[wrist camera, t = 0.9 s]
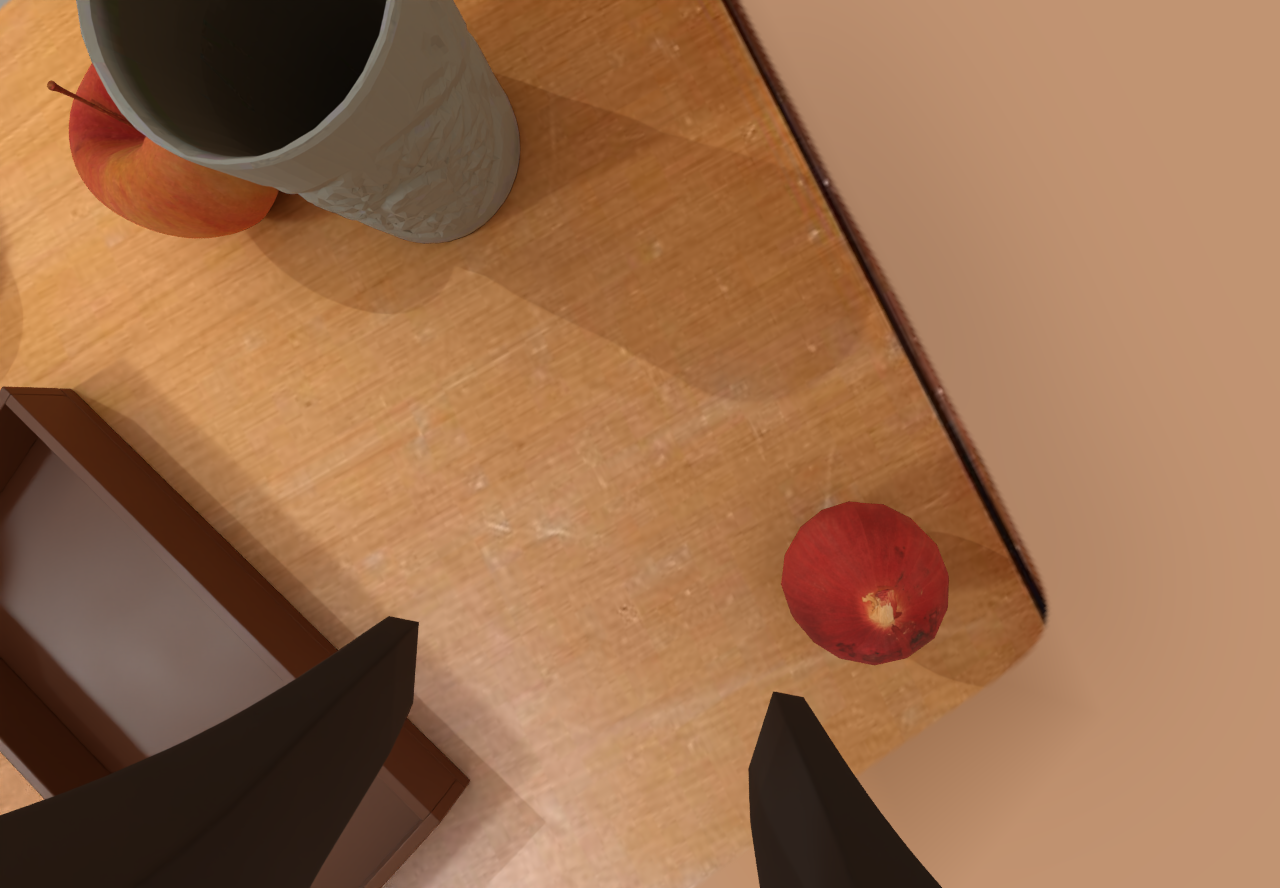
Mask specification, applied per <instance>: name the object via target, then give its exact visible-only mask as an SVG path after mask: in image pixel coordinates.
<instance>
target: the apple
mask: <svg viewBox="0 0 1280 888" xmlns="http://www.w3.org/2000/svg"><path fill="white" fill-rule="evenodd" d="M47 87H48V89H49V90H52V91H57V92H60V93H63V94H65V95H67V96H70V97H72V98H74V100H73V104H72V108H71V112H70V120H69V141H70V149H71V153H72V157H73V160H74V163H75V166H76V168H77V170H78V173H79V175H80V176H81V178H82V180H83V181H84V183H85V184H86V186H87V187H88V189H89V190H90V191H91V192H92V193H93V194H94V196H95V197H96V198H97V199H98V200H100V201H101V202H102V203H103V204H104V205H105V206H107V207H108V208H109V209H111V210H112V211H114V212H115V213H117V214H118V215H120V216H122V217H123V218H125V219H127V220H129V221H131V222H133V223H135V224H137V225H140V226H142V227H145V228H147V229H150V230H153V231H156V232H159V233H163V234H167V235H172V236H177V237H186V238H212V237H220V236H225V235H230V234H234V233H237V232H240V231H243V230H245V229H248V228H250V227H252V226H253V225H255V224H257V223H258V222H260V221H261V220H262V219H263V218H264V217H265V216H266V214H267V213H268V211H269V210H270V208H271V207H272V205H273V204H274V201H275V199H276V197H277V194H278V191H279V190H278V189H276V188H274V187H270V186H262V185H259V184H256V183H253V182H250V181H247V180H244V179H241V178H238V177H235V176H232V175H229V174H226V173H223V172H220V171H217V170H214V169H211V168H208V167H205V166H202V165H199V164H196V163H193V162H191V161H188V160H186V159H184V158H181V157H179V156H177V155H175V154H173V153H172V152H170V151H168V150H166V149H165V148H163V147H161V146H159V145H157V144H156V143H154V142H153V141H152V140H150V139H149V138H148V137H146V136H145V135H144V134H142V133H141V132H140V131H138V130H137V129H136V128H135V127H134V126H133V125H132V124H131V123H130V122H129V121H128V120H127V118H126V117H125V116H124V115H123V114H122V113H121V112H120V110H119V109H118V107H117V106H116V104H115V103H114V101H113V100H112V98H111V97H110V95H109V94H108V92H107V90H106V88H105V86H104V84H103V83H102V81H101V79H100V77H99V75H98V73H97V71H96V69H95V67H94V65H93V63H92V64H91V66H90V67H89V69H88V71H87V73H86V74H85V76H84V78H83V80H82V82H81V84H80V86H79V88H78V90H77V92H76V95H75V94H73V93H71V92H69V91H67V90H65V89H64V88H62V87H60V86H59V85H57V84H56V83H55V82H54V81H49V82H48V84H47Z"/></svg>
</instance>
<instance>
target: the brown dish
mask: <svg viewBox="0 0 1280 888" xmlns="http://www.w3.org/2000/svg"><path fill="white" fill-rule="evenodd" d="M337 651H338V650H337V649H335V648H334V647H333V646H332V645H331V644H330V643H329V642H328V641H327V640H326V639H325V638H324V637H323V636H322V635H321V634H320V633H319V632H318V631H317V630H316V629H315V628H314V627H313V626H312V625H311V624H310V623H309V622H308V621H307V620H306V619H305V618H304V617H303V616H302V615H301V614H300V613H299V612H298V611H297V610H296V609H295V608H294V607H293V606H292V605H291V604H290V603H289V602H288V601H287V600H286V599H285V598H284V597H283V596H282V595H281V594H279V593H278V592H277V591H276V590H275V589H274V588H273V587H272V586H271V585H270V584H269V583H268V582H267V581H266V580H265V579H264V578H263V577H262V576H261V575H260V574H259V573H258V572H257V571H256V570H255V569H254V568H253V567H252V566H251V565H250V564H249V563H248V562H247V561H246V560H245V559H244V558H243V557H242V556H241V555H240V554H239V553H238V552H237V551H236V550H235V549H234V548H233V547H232V546H231V545H230V544H229V543H228V542H227V541H226V540H224V539H223V538H222V537H221V536H220V535H219V534H218V533H217V532H216V531H215V530H214V529H213V528H212V527H211V526H210V525H209V524H208V523H207V522H206V521H205V520H204V519H203V518H202V517H201V516H200V515H199V514H198V513H197V512H196V511H195V510H194V509H193V508H192V507H191V506H190V505H189V504H188V503H187V502H186V501H185V500H184V499H183V498H182V497H181V496H180V495H179V494H178V493H177V492H176V491H175V490H174V489H173V488H172V487H171V486H169V485H168V484H167V483H166V482H165V481H164V480H163V479H162V478H161V477H160V476H159V475H158V474H157V473H156V472H155V471H154V470H153V469H152V468H151V467H150V466H149V465H148V464H147V463H146V462H145V461H144V460H143V459H142V458H141V457H140V456H139V455H138V454H137V453H136V452H135V451H134V450H133V449H132V448H131V447H130V446H129V445H128V444H127V443H126V442H125V441H124V440H123V439H122V438H121V437H120V436H119V435H118V434H117V433H116V432H115V431H113V430H112V429H111V428H110V427H109V426H108V425H107V424H106V423H105V422H104V421H103V420H102V419H101V418H100V417H99V416H98V415H97V414H96V413H95V412H94V411H93V410H92V409H91V408H90V407H89V406H88V405H87V404H86V403H85V402H84V401H83V400H82V399H81V398H80V397H79V396H78V395H77V394H76V393H75V392H74V391H73V390H72V389H58V388H32V387H2V389H1V390H0V752H1V753H2V754H3V755H4V756H5V757H6V758H7V759H8V760H9V761H10V763H11V764H12V765H13V766H14V767H15V768H16V769H17V770H18V771H19V772H20V773H21V774H22V775H23V777H24V778H25V779H26V780H27V781H28V782H29V783H30V784H31V785H32V786H33V787H34V788H35V789H36V791H37V792H38V793H39V794H40V795H41V796H42V797H43V798H44V799H48V798H51V797H53V796H56V795H59V794H61V793H64V792H67V791H69V790H72V789H74V788H77V787H79V786H82V785H85V784H87V783H90V782H92V781H95V780H97V779H100V778H102V777H105V776H107V775H110V774H112V773H114V772H116V771H119V770H121V769H123V768H125V767H128V766H130V765H132V764H135V763H137V762H139V761H141V760H144V759H146V758H148V757H150V756H153V755H155V754H157V753H160V752H162V751H164V750H166V749H169V748H171V747H173V746H175V745H177V744H179V743H181V742H183V741H186V740H188V739H190V738H192V737H193V736H195V735H197V734H199V733H201V732H203V731H205V730H207V729H209V728H211V727H213V726H215V725H217V724H219V723H221V722H223V721H225V720H227V719H229V718H230V717H232V716H234V715H236V714H238V713H239V712H241V711H243V710H245V709H247V708H248V707H250V706H252V705H253V704H255V703H257V702H258V701H260V700H262V699H263V698H265V697H267V696H268V695H270V694H272V693H273V692H275V691H277V690H278V689H280V688H282V687H283V686H285V685H287V684H288V683H290V682H291V681H293V680H295V679H296V678H298V677H299V676H301V675H302V674H304V673H305V672H307V671H308V670H310V669H311V668H313V667H314V666H316V665H318V664H319V663H321V662H322V661H324V660H325V659H327V658H328V657H330V656H331V655H333V654H334V653H336V652H337ZM469 782H470V780H469V779H468V778H467V777H466V776H465V775H464V774H463V773H462V772H461V771H460V770H459V769H458V768H457V767H456V766H455V765H454V764H453V763H452V762H451V761H450V760H449V759H448V758H447V757H445V756H444V755H443V754H442V753H441V752H440V751H439V750H438V749H437V748H436V747H435V746H434V745H433V744H432V743H431V742H430V741H429V740H428V739H427V738H426V737H425V736H424V735H423V734H422V733H421V732H420V731H419V730H418V729H417V728H416V727H415V726H414V725H413V724H412V723H411V722H410V721H409V720H408V719H407V718H406V720H405V722H404V724H403V726H402V729H401V731H400V733H399V735H398V737H397V739H396V742H395V744H394V746H393V748H392V750H391V752H390V754H389V756H388V757H387V759H386V761H385V762H384V764H383V766H382V768H381V769H380V771H379V773H378V774H377V776H376V778H375V779H374V781H373V783H372V784H371V786H370V788H369V789H368V791H367V793H366V794H365V796H364V798H363V799H362V801H361V803H360V804H359V806H358V807H357V809H356V811H355V812H354V814H353V816H352V817H351V819H350V821H349V822H348V824H347V826H346V827H345V829H344V831H343V832H342V834H341V836H340V837H339V839H338V841H337V842H336V844H335V845H334V847H333V849H332V850H331V852H330V854H329V855H328V857H327V859H326V860H325V862H324V864H323V865H322V867H321V869H320V871H319V872H318V874H317V876H316V878H315V880H314V881H313V883H312V885H311V887H310V888H381V887H382V886H383V885H384V884H385V883H386V882H387V881H388V880H389V878H390V877H391V876H392V875H393V874H394V873H395V872H396V871H397V870H398V868H399V867H400V866H401V865H402V864H403V863H404V862H405V861H406V860H407V859H408V857H409V856H410V855H411V854H412V853H413V852H414V851H415V850H416V849H417V848H418V846H419V845H420V844H421V843H422V842H423V841H424V840H425V839H426V838H427V837H428V835H429V834H430V833H431V832H432V831H433V830H434V829H435V828H436V827H437V826H438V824H439V823H440V822H441V821H442V819H443V818H444V817H445V815H446V814H447V813H448V811H449V810H450V809H451V807H452V806H453V804H454V803H455V802H456V800H457V799H458V798H459V796H460V795H461V794H462V792H463V791H464V789H465V788H466V787H467V785H468V784H469Z"/></svg>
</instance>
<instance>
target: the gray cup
mask: <svg viewBox="0 0 1280 888" xmlns="http://www.w3.org/2000/svg"><path fill="white" fill-rule="evenodd" d="M76 2H77V8H78V15H79V21H80V28H81V34H82V37H83V40H84V42H85V45H86V48H87V50H88V53H89V56H90V58H91V61H92V63H93V65H94V67H95V69H96V71H97V73H98V75H99V77H100V79H101V81H102V83H103V84H104V86H105V88H106V90H107V92H108V94H109V95H110V97H111V98H112V100H113V101H114V103H115V104H116V106H117V107H118V109H119V110H120V112H121V113H122V114H123V115H124V116H125V117H126V118H127V120H128V121H129V122H130V123H131V124H132V125H133V126H134V127H135V128H136V129H137V130H138V131H140V132H141V133H142V134H144V135H145V136H146V137H148V138H149V139H150V140H152V141H153V142H154V143H156V144H157V145H159V146H161V147H163V148H165V149H166V150H168V151H170V152H172V153H173V154H175V155H177V156H179V157H181V158H184V159H186V160H188V161H191V162H193V163H196V164H199V165H202V166H205V167H208V168H211V169H214V170H217V171H220V172H223V173H226V174H229V175H232V176H235V177H238V178H241V179H244V180H247V181H250V182H253V183H256V184H259V185H262V186H270V187H274V188H276V189H278V190H280V191H282V192H284V193H287V194H297V193H298V194H299V195H300V196H302V197H303V198H304V199H305V200H307V201H308V202H310V203H313V204H314V205H315V206H317V207H319V208H322V209H324V210H327V211H330V212H333V213H337V214H339V215H341V216H343V217H345V218H348V219H350V220H357V221H359V222H361V223H364V224H366V225H368V226H370V227H373V228H375V229H378V230H380V231H383V232H386V233H388V234H391V235H394V236H396V237H399V238H401V239H404V240H408V241H412V242H418V243H441V242H448V241H452V240H455V239H458V238H461V237H463V236H466V235H468V234H470V233H472V232H473V231H475V230H476V229H478V228H479V227H481V226H482V225H484V224H485V223H486V222H487V221H488V220H489V219H490V218H491V217H492V216H493V215H494V214H495V213H496V212H497V210H498V209H499V208H500V206H501V205H502V204H503V203H504V201H505V199H506V198H507V196H508V194H509V192H510V190H511V188H512V185H513V182H514V180H515V177H516V174H517V169H518V164H519V157H520V139H519V131H518V126H517V121H516V117H515V115H514V112H513V110H512V107H511V105H510V102H509V99H508V97H507V95H506V94H505V92H504V90H503V89H502V87H501V86H500V84H499V82H498V81H497V79H496V77H495V76H494V74H493V72H492V70H491V68H490V66H489V64H488V62H487V61H486V59H485V57H484V55H483V53H482V51H481V49H480V48H479V46H478V44H477V42H476V41H475V39H474V38H473V36H472V35H471V34H470V33H469V32H468V31H467V27H466V23H465V21H464V20H463V18H462V16H461V14H460V12H459V10H458V8H457V7H456V5H455V3H454V1H453V0H76Z"/></svg>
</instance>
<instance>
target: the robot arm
mask: <svg viewBox="0 0 1280 888" xmlns="http://www.w3.org/2000/svg"><path fill="white" fill-rule="evenodd" d="M418 626H419V622H415V621H410V620H405V619H400V618H395V617H390V616H389V617H387V618H386V619H384V620H382V621H381V622H379V623H378V624H376V625H375V626H373V627H372V628H370V629H369V630H368V631H366V632H365V633H363V634H362V635H360V636H359V637H357V638H356V639H355V640H353V641H352V642H350V643H349V644H347V645H346V646H344V647H343V648H341V649H340V650H339V651H337V652H336V653H334V654H333V655H331V656H330V657H328V658H327V659H325V660H324V661H322V662H321V663H319V664H318V665H316V666H314V667H313V668H311V669H310V670H308V671H307V672H305V673H304V674H302V675H301V676H299V677H298V678H296V679H295V680H293V681H291V682H290V683H288V684H287V685H285V686H283V687H282V688H280V689H278V690H277V691H275V692H273V693H272V694H270V695H268V696H267V697H265V698H263V699H262V700H260V701H258V702H257V703H255V704H253V705H252V706H250V707H248V708H247V709H245V710H243V711H241V712H239V713H238V714H236V715H234V716H232V717H230V718H229V719H227V720H225V721H223V722H221V723H219V724H217V725H215V726H213V727H211V728H209V729H207V730H205V731H203V732H201V733H199V734H197V735H195V736H193V737H192V738H190V739H188V740H186V741H183V742H181V743H179V744H177V745H175V746H173V747H171V748H169V749H166V750H164V751H162V752H160V753H157V754H155V755H153V756H150V757H148V758H146V759H144V760H141V761H139V762H137V763H135V764H132V765H130V766H128V767H125V768H123V769H121V770H119V771H116V772H114V773H112V774H110V775H107V776H105V777H102V778H100V779H97V780H95V781H92V782H90V783H87V784H85V785H82V786H79V787H77V788H74V789H72V790H69V791H67V792H64V793H61V794H59V795H56V796H53V797H51V798H48V799H45V800H42V801H40V802H37V803H34V804H31V805H29V806H26V807H23V808H20V809H17V810H14V811H12V812H9V813H6V814H3V815H0V888H310V887H311V885H312V883H313V881H314V880H315V878H316V876H317V874H318V872H319V871H320V869H321V867H322V865H323V864H324V862H325V860H326V859H327V857H328V855H329V854H330V852H331V850H332V849H333V847H334V845H335V844H336V842H337V841H338V839H339V837H340V836H341V834H342V832H343V831H344V829H345V827H346V826H347V824H348V822H349V821H350V819H351V817H352V816H353V814H354V812H355V811H356V809H357V807H358V806H359V804H360V803H361V801H362V799H363V798H364V796H365V794H366V793H367V791H368V789H369V788H370V786H371V784H372V783H373V781H374V779H375V778H376V776H377V774H378V773H379V771H380V769H381V768H382V766H383V764H384V762H385V761H386V759H387V757H388V756H389V754H390V752H391V750H392V748H393V746H394V744H395V742H396V739H397V737H398V735H399V733H400V731H401V729H402V726H403V724H404V722H405V720H406V717H407V715H408V713H409V711H410V709H411V706H412V704H413V696H414V682H415V668H416V654H417V640H418ZM749 801H750V822H751V830H752V837H753V844H754V851H755V857H756V864H757V870H758V877H759V884H760V888H942V887H941V886H940V885H939V884H938V882H937V881H936V880H935V879H934V878H933V877H932V875H931V874H930V873H929V872H928V871H927V870H926V869H925V867H924V866H923V865H922V864H921V863H920V862H919V860H918V859H917V858H916V857H915V855H913V853H912V852H911V851H910V849H909V848H908V847H907V846H906V844H905V843H904V842H903V841H902V839H901V838H900V837H899V836H898V834H897V833H896V832H895V830H894V829H893V828H892V826H891V825H890V824H889V822H888V821H887V820H886V819H885V817H884V816H883V815H882V814H881V812H880V811H879V809H878V808H877V807H876V805H875V804H874V802H873V801H872V800H871V798H870V797H869V796H868V794H867V793H866V791H865V790H864V788H863V787H862V785H861V784H860V783H859V781H858V780H857V778H856V777H855V775H854V774H853V772H852V771H851V770H850V768H849V767H848V765H847V764H846V762H845V761H844V759H843V758H842V756H841V755H840V753H839V751H838V750H837V748H836V747H835V745H834V744H833V742H832V741H831V739H830V738H829V736H828V735H827V733H826V731H825V730H824V728H823V727H822V725H821V724H820V722H819V721H818V719H817V717H816V716H815V714H814V713H813V711H812V710H811V708H810V707H809V705H808V704H807V702H806V700H805V699H804V697H799V696H794V695H789V694H784V693H778V692H773V694H772V697H771V700H770V704H769V707H768V710H767V713H766V716H765V719H764V722H763V725H762V728H761V732H760V735H759V738H758V741H757V744H756V747H755V750H754V753H753V756H752V760H751V763H750V766H749Z"/></svg>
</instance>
